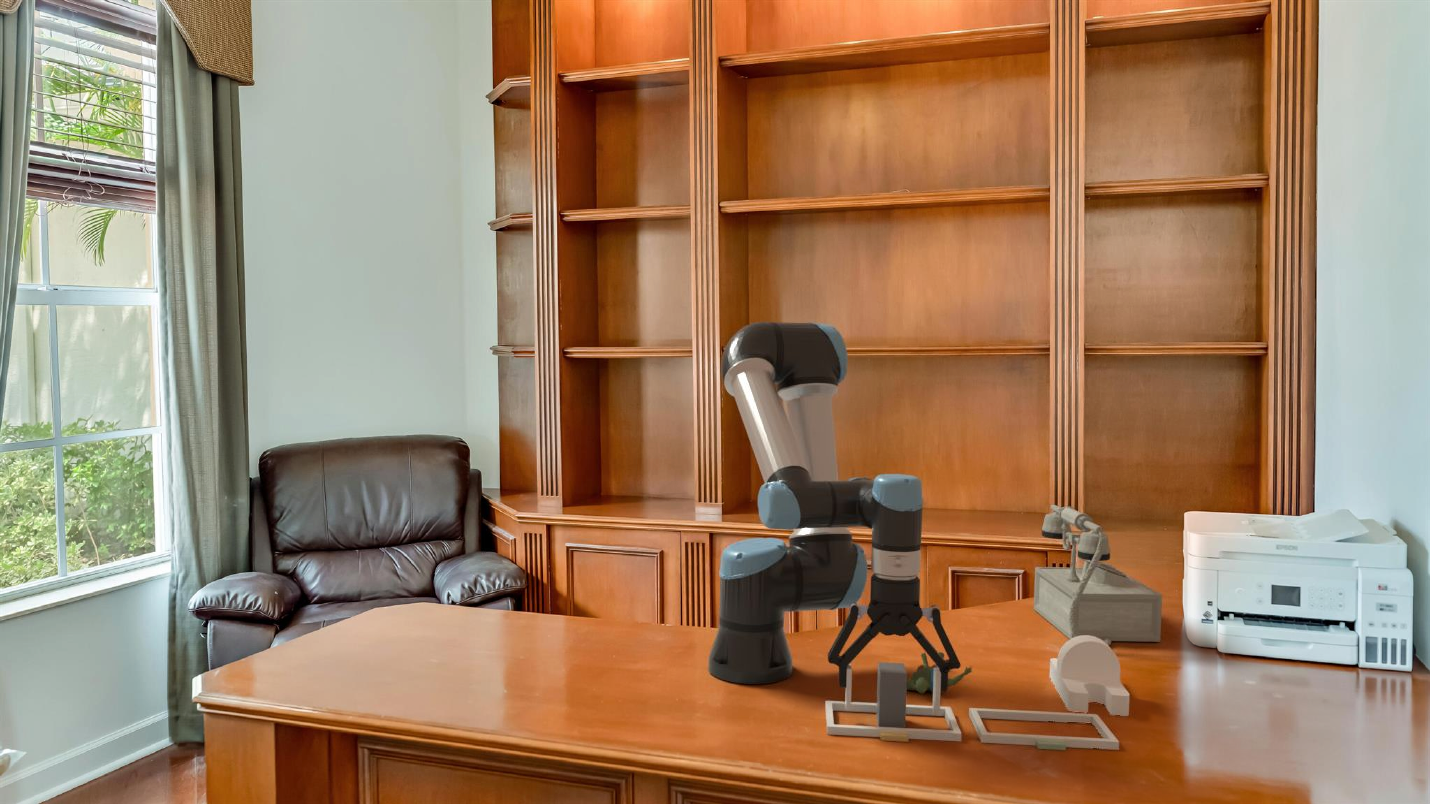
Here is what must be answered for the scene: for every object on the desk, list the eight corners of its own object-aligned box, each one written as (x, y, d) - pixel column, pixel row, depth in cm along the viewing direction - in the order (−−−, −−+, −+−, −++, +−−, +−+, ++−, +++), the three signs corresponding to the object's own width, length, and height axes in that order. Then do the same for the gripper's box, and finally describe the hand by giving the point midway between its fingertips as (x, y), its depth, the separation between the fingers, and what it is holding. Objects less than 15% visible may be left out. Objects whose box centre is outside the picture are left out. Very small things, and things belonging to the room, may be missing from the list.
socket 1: (827, 737, 151) (827, 729, 151) (825, 707, 163) (825, 700, 163) (962, 744, 149) (962, 736, 149) (950, 714, 161) (950, 707, 161)
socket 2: (982, 745, 149) (983, 738, 149) (968, 715, 161) (969, 707, 161) (1121, 753, 147) (1121, 745, 147) (1096, 721, 159) (1097, 714, 159)
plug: (878, 729, 154) (880, 672, 154) (875, 715, 160) (877, 660, 159) (905, 731, 154) (907, 673, 153) (901, 717, 160) (903, 661, 159)
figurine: (975, 648, 182) (966, 676, 165) (978, 670, 182) (970, 700, 165) (889, 653, 187) (872, 680, 170) (892, 674, 187) (876, 703, 170)
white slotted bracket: (1068, 713, 163) (1071, 652, 163) (1048, 677, 181) (1050, 621, 180) (1130, 718, 162) (1133, 656, 161) (1103, 681, 180) (1106, 625, 179)
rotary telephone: (1174, 653, 196) (1181, 527, 194) (1070, 651, 196) (1076, 525, 194) (1109, 609, 228) (1114, 500, 226) (1019, 607, 228) (1024, 498, 226)
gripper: (815, 577, 152) (811, 714, 153) (981, 583, 150) (977, 722, 151) (814, 566, 160) (811, 697, 161) (973, 572, 158) (969, 704, 159)
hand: (891, 709), depth 156 cm, fingers open, 13 cm apart
